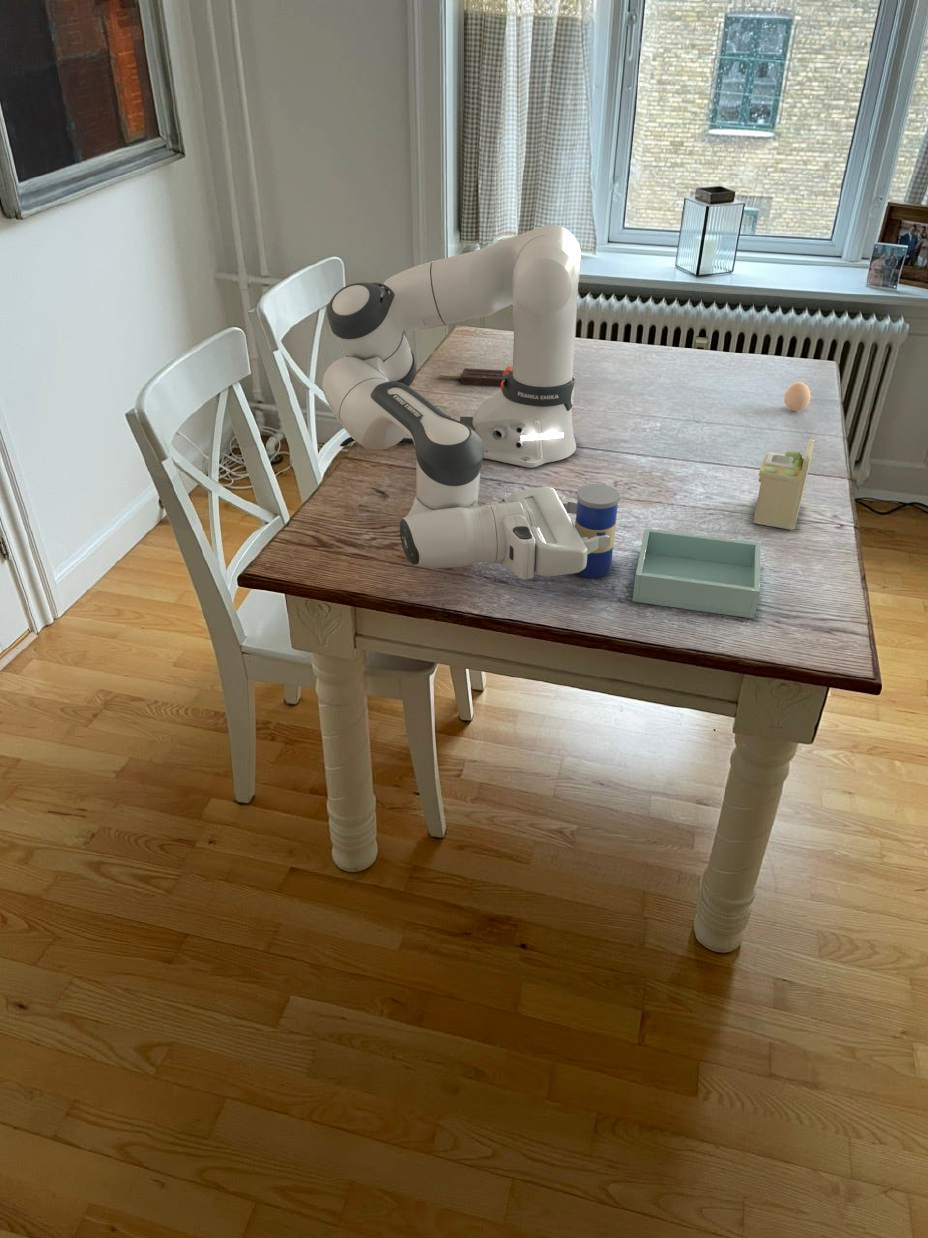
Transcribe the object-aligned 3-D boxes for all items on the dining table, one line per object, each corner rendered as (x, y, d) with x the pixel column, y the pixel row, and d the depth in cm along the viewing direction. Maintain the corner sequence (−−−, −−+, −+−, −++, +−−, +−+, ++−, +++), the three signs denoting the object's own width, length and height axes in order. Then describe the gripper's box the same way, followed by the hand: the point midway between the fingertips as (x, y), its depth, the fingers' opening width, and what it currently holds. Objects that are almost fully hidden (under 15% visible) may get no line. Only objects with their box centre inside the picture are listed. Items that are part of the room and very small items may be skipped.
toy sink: (756, 500, 168) (770, 430, 160) (799, 507, 166) (815, 437, 158) (749, 523, 162) (763, 451, 154) (794, 531, 160) (810, 459, 152)
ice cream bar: (438, 382, 211) (506, 386, 209) (438, 375, 210) (507, 379, 208) (442, 373, 215) (509, 377, 213) (442, 366, 214) (509, 370, 212)
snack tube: (568, 575, 149) (573, 501, 141) (574, 554, 154) (580, 481, 146) (608, 580, 148) (616, 506, 140) (614, 559, 152) (622, 486, 145)
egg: (782, 403, 202) (787, 376, 198) (807, 406, 200) (813, 379, 197) (781, 413, 198) (787, 386, 194) (807, 416, 197) (813, 389, 193)
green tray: (632, 601, 143) (635, 574, 140) (641, 554, 154) (644, 528, 151) (754, 618, 140) (760, 591, 137) (755, 569, 150) (760, 543, 147)
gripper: (495, 516, 154) (578, 508, 156) (525, 586, 138) (617, 576, 140) (496, 481, 151) (581, 473, 153) (526, 548, 134) (621, 539, 136)
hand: (599, 523), depth 146 cm, fingers open, 8 cm apart
